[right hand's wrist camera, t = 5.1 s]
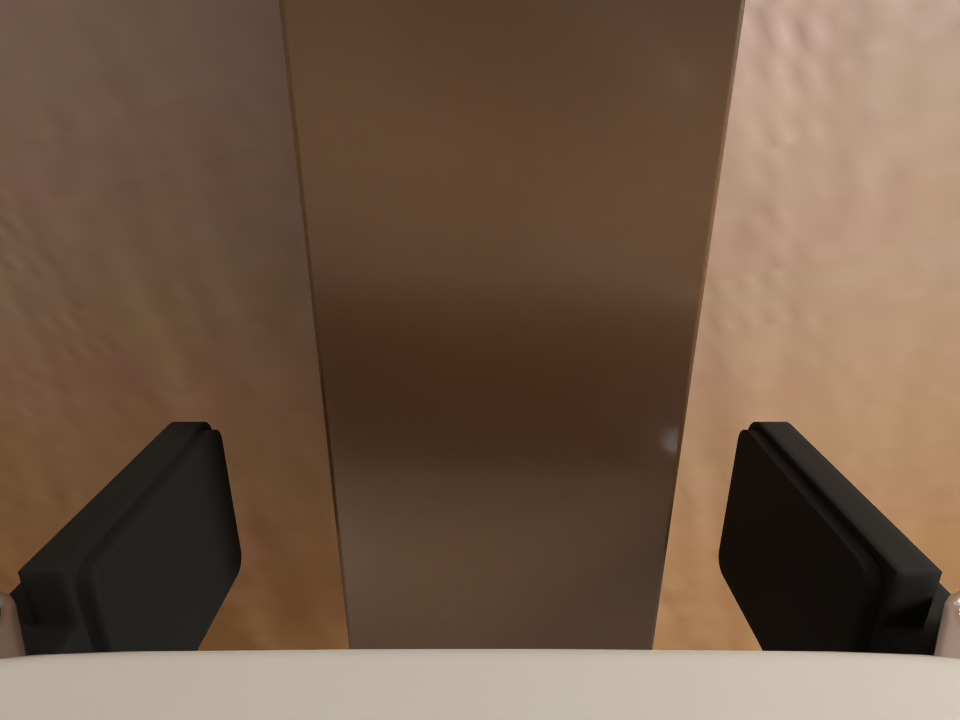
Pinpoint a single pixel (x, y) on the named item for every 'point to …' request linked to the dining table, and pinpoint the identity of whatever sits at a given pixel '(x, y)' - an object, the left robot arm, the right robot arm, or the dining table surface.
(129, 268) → the dining table surface
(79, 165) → the dining table surface
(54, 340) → the dining table surface
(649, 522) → the beam
